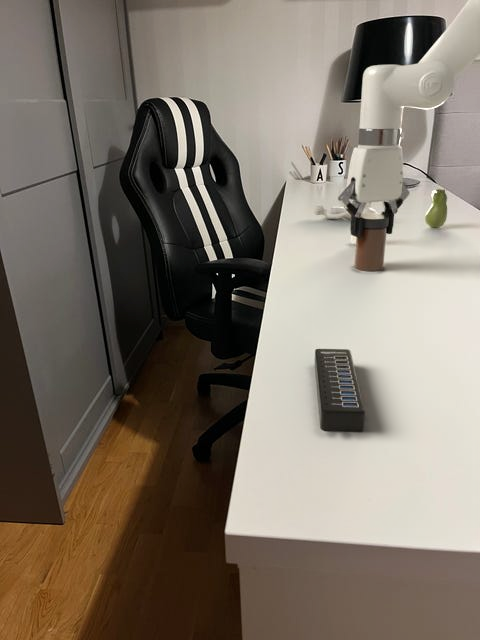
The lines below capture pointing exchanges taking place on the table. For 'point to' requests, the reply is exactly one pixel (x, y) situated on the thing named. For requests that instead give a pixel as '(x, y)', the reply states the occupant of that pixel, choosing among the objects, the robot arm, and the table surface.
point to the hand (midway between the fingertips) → (371, 233)
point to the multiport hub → (338, 391)
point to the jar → (370, 249)
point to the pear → (437, 209)
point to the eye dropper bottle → (366, 210)
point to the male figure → (332, 212)
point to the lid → (375, 220)
